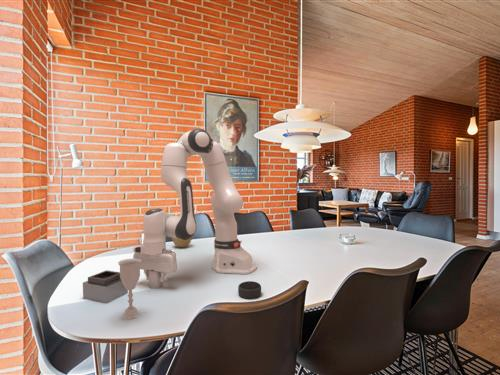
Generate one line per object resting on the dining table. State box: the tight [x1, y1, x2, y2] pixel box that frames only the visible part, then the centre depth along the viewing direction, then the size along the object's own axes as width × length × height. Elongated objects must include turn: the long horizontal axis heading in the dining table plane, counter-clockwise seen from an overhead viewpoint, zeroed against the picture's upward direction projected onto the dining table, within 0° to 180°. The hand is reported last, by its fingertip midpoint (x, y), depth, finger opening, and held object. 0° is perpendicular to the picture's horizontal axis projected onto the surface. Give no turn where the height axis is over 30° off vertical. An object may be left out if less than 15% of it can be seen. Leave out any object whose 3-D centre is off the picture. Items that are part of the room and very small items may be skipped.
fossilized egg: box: [171, 236, 193, 248], centre depth 183 cm, size 13×13×15 cm
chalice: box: [117, 258, 141, 320], centre depth 93 cm, size 7×7×18 cm
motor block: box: [82, 270, 129, 304], centre depth 110 cm, size 16×10×8 cm, turn 69°
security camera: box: [148, 270, 163, 290], centre depth 118 cm, size 5×5×8 cm
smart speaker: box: [237, 280, 262, 300], centre depth 109 cm, size 9×9×4 cm
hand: (155, 280), depth 118 cm, fingers closed on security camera, 5 cm apart
